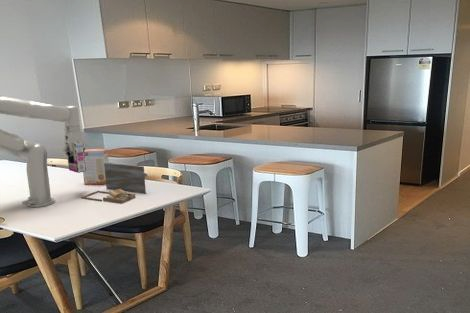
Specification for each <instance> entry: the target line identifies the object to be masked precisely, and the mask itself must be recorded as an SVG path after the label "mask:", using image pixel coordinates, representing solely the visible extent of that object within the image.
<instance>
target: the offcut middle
mask: <svg viewBox="0 0 470 313" xmlns="http://www.w3.org/2000/svg"><path fill="white" fill-rule="evenodd" d="M126 197H129V195H126V196H124V197H119V198H114V197H112V196H110V195H109V194H106V198H112V199H119V200H122V199H124V198H126Z"/></svg>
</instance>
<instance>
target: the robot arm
mask: <svg viewBox="0 0 470 313" xmlns="http://www.w3.org/2000/svg"><path fill="white" fill-rule="evenodd" d="M0 115H6V116H7V115H8V116H15V117H19V118H20V117H21V118H25V119H26V118H27V119H40V120H47V121H53V122H60V123H64V128H63V129H64V131H65V132H64V147H63V149H62V152H63V153H64V154H65V155H66V156H68V157H67V160H68V159H69V163H74V157H73V156H72V155H73V151H74V147H73V142H77V141H82V142H83V146H84V150H85V149H86V148H87V144H86V143H85V137H84V133H83V130H81V123H80V111H79V107H78V106H77V105H63V106H60V105H59V106H58V105H55V104H54V105H53V104H47V103H42V102H38V101H34V100H31V99H30V100H29V99H23V98H17V97H11V96H6V95H0ZM0 151H1V152H3V153H6V154H8V155H10V156H11V155H12V156H14V157H17V158H20V159H22V160H23V159H24V160H26V177H27V184H28V192H29V196H28V197H27V199H26V200H23V201H22V202H21V204H22V206H25V205H27V206H28V207H29V208H42V207H43V208H44V207H46V206H47V207H48V206H50V205H53V204H54V203H55V202H56V201H55V198H52V196H51V195H52V194H51V186H50V185H51V184H50V177H49V170H48V150H47V148H46V146H44V145H43V144H42V143H39V142H36V141H35V142H34V141H30V140H27V139H25V138H22V137H21V136H19V135H18V134H15V133H11V132H8V131H5V130H3V129H2V128H0Z"/></svg>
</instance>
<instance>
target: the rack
mask: <svg viewBox="0 0 470 313" xmlns="http://www.w3.org/2000/svg"><path fill="white" fill-rule="evenodd" d="M104 167H105V178H106V185H105V186H106V187H105V188H106V190H109V191H112V190H117V189H121V190H123V191H125V192H126V195H129V197H126V198H124V199H122V200H119V199H112V198H107V197H106V196H105V197H102V199H101V198H94V197H90V196H93V195H95V194H106V195H109V191H103V190H95V191H94V192H91V193H88V194H85V195H83V196H81V197H80V199H83V200H88V201H95V202H104V203H105V202H108V203H114V204H120V205H121V204H124V203H127V202H128V201H129V202H130V201H131V200H134V199H136V194H142V195H146V193H147V191H146V177H145V166H144V165H143V166H142V165H131V164H121V163H120V164H119V163H110V162H108V163H104ZM135 193H136V194H135Z"/></svg>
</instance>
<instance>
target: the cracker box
mask: <svg viewBox="0 0 470 313" xmlns="http://www.w3.org/2000/svg"><path fill="white" fill-rule="evenodd" d="M84 156H85V165H86V171H85V172H82V176H83V184H84V185H86V186H88V185H89V186H91V185H94V186H95V185H99V186H100V185H103V186H106V178H105V167H104V163H109V155H108V149H107V148H87V149H86V148H85V150H84Z"/></svg>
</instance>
